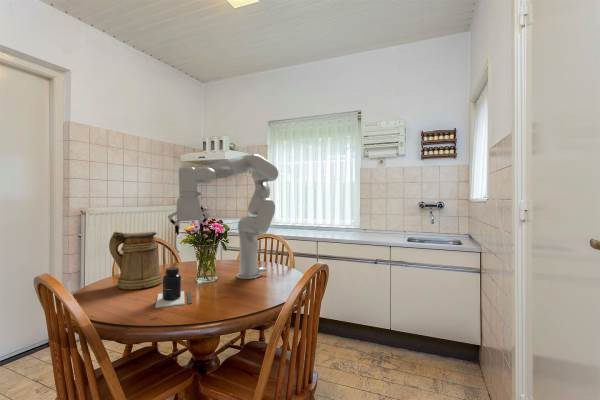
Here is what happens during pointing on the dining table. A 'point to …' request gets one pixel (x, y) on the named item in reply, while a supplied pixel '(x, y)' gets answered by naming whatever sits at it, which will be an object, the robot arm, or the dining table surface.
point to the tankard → (136, 259)
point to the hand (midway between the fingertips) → (189, 233)
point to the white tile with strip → (180, 301)
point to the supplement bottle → (172, 284)
